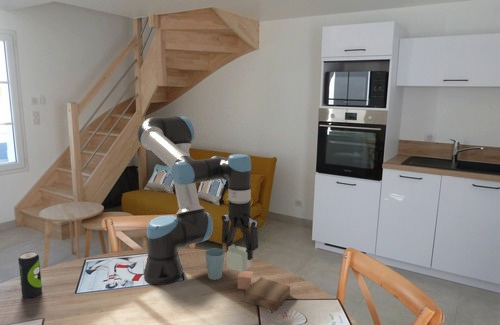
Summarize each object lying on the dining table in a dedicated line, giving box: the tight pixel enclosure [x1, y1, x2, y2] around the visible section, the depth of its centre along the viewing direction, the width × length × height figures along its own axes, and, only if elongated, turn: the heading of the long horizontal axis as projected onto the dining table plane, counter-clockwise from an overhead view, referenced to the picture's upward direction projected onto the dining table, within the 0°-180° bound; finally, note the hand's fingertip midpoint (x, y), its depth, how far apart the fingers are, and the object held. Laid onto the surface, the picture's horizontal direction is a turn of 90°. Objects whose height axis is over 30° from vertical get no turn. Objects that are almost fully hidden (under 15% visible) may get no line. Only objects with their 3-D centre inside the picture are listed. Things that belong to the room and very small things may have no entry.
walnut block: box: [244, 277, 291, 312], centre depth 134 cm, size 12×12×4 cm
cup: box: [204, 247, 226, 281], centre depth 148 cm, size 8×8×10 cm
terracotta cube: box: [237, 270, 254, 291], centre depth 142 cm, size 5×5×5 cm
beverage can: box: [18, 250, 43, 299], centre depth 132 cm, size 6×6×15 cm
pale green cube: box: [226, 245, 247, 273], centre depth 129 cm, size 6×6×6 cm
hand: (239, 265), depth 129 cm, fingers closed on pale green cube, 6 cm apart
